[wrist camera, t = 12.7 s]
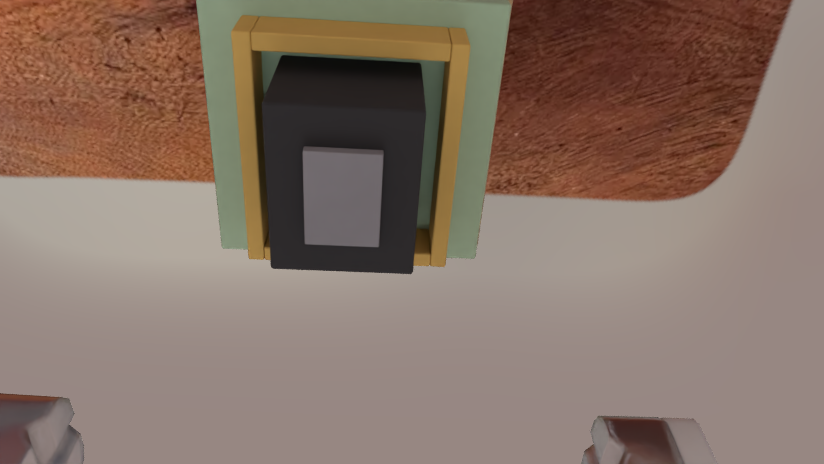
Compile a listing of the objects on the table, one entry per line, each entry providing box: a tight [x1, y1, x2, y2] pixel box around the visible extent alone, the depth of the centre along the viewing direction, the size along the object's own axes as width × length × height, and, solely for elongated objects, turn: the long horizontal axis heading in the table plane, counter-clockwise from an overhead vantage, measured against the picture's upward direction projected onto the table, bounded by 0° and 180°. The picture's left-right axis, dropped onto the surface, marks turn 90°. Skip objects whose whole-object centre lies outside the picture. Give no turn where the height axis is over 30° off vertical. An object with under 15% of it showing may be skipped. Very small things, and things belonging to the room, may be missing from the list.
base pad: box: [196, 0, 511, 267], centre depth 21 cm, size 9×9×2 cm
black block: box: [262, 55, 426, 274], centre depth 19 cm, size 4×5×4 cm
